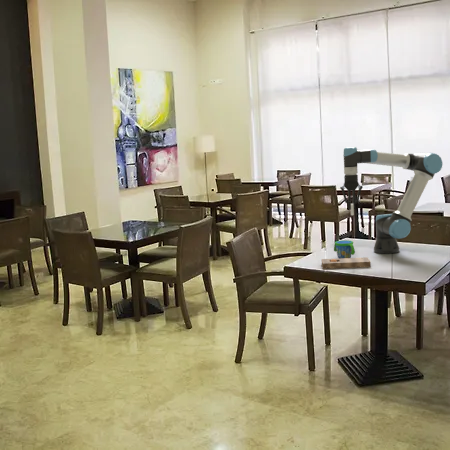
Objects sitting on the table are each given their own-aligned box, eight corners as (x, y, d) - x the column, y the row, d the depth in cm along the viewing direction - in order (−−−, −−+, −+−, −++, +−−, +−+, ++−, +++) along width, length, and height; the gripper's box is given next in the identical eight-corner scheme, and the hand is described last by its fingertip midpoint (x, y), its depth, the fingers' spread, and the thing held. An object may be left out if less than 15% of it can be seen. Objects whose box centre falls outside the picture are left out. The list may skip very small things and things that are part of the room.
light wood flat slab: (367, 262, 331) (367, 257, 330) (370, 267, 319) (370, 261, 318) (321, 264, 334) (321, 259, 333) (322, 268, 322) (322, 263, 322)
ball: (338, 262, 328) (334, 257, 328) (338, 264, 324) (334, 258, 324) (332, 266, 329) (328, 260, 329) (332, 268, 325) (328, 262, 325)
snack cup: (359, 259, 340) (359, 242, 339) (345, 262, 336) (344, 244, 334) (343, 255, 354) (343, 239, 353) (329, 257, 350) (328, 241, 348)
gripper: (339, 175, 330) (341, 216, 334) (363, 174, 329) (364, 215, 332) (338, 174, 338) (340, 214, 341) (361, 173, 336) (362, 213, 339)
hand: (352, 215), depth 337 cm, fingers closed
